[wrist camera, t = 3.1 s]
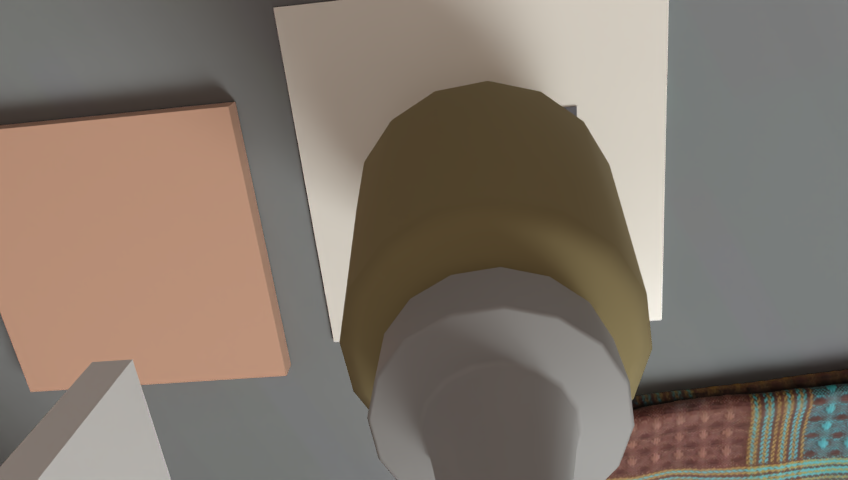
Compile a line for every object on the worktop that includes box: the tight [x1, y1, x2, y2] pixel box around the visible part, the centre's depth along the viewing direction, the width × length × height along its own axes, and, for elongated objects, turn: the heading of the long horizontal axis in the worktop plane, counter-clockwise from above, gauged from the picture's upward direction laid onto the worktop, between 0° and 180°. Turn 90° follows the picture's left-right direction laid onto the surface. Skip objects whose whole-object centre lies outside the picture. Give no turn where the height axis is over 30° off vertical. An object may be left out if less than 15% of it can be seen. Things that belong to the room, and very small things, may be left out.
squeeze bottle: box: [340, 81, 652, 480], centre depth 17 cm, size 8×8×18 cm
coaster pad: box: [0, 102, 291, 392], centre depth 27 cm, size 11×11×1 cm
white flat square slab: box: [273, 0, 669, 342], centre depth 25 cm, size 13×13×1 cm
